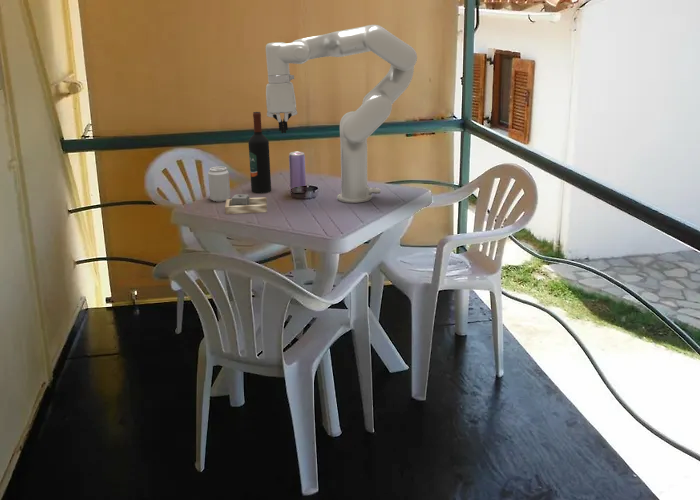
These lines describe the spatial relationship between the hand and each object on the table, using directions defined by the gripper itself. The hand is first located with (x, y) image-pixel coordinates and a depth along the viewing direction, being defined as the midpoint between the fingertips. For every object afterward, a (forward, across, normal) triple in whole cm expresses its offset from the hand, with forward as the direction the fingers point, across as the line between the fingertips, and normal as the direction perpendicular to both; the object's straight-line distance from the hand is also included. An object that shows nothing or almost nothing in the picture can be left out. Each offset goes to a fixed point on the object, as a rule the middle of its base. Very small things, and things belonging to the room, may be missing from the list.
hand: (283, 132), depth 257 cm
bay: (+25, +16, +7) cm, 30 cm away
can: (+24, +25, -7) cm, 36 cm away
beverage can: (+26, -4, -12) cm, 29 cm away
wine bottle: (+25, +10, -16) cm, 31 cm away
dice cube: (+25, +18, +8) cm, 31 cm away
